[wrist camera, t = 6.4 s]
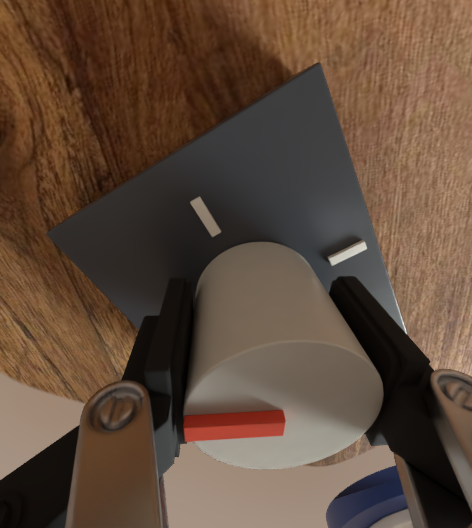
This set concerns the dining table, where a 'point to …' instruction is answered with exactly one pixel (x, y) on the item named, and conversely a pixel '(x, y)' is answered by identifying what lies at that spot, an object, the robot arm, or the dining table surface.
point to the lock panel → (234, 204)
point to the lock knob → (273, 364)
